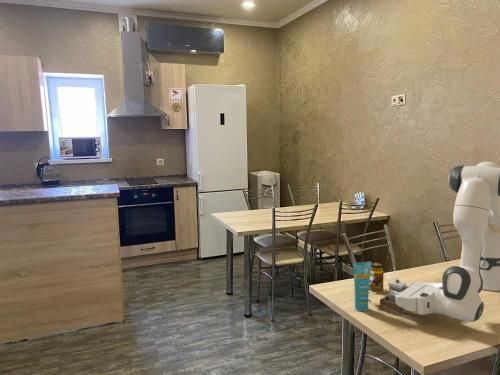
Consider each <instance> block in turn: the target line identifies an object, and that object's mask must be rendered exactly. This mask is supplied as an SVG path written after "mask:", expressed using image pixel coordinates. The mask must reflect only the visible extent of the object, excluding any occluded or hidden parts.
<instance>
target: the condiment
mask: <svg viewBox="0 0 500 375" xmlns="http://www.w3.org/2000/svg"><path fill="white" fill-rule="evenodd" d="M383 269H384V268H383V264H382V263H380V262H371V270H370V271H371V272H373V273H374V274H373V276H374V281H373V282H372V283H371V284H370V285H369V290H370V291H372V292H371V293H373V294H374V295H377V294H382V293H385V292H388V290H387V289H385V288H384V280H385V278H384V270H383ZM370 291H369V292H370ZM375 292H376V293H375Z"/></svg>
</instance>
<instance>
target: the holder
mask: <svg viewBox="0 0 500 375" xmlns="http://www.w3.org/2000/svg"><path fill="white" fill-rule="evenodd" d="M379 310H380V311H385V312H386V313H391V314H393V315H397V316H402V314H403V313H402V312H403V311H402V307H399V306H397V305H396V303H394V302H391V301H389V293H388V294H387V295H385V296H383V297H382V298H380V299H379Z"/></svg>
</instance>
